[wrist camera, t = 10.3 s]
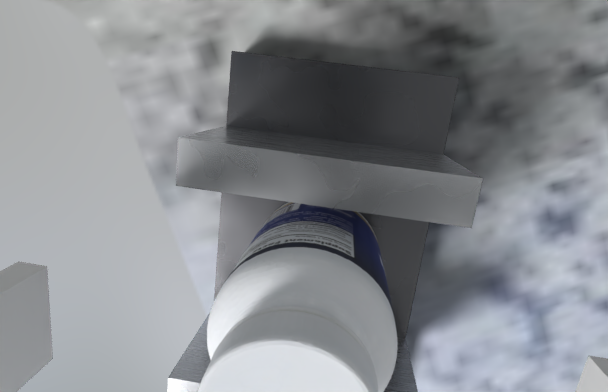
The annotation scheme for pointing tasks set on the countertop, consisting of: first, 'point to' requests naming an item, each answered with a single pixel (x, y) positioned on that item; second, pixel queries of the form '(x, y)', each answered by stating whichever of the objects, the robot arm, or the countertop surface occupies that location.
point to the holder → (330, 169)
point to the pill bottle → (304, 309)
